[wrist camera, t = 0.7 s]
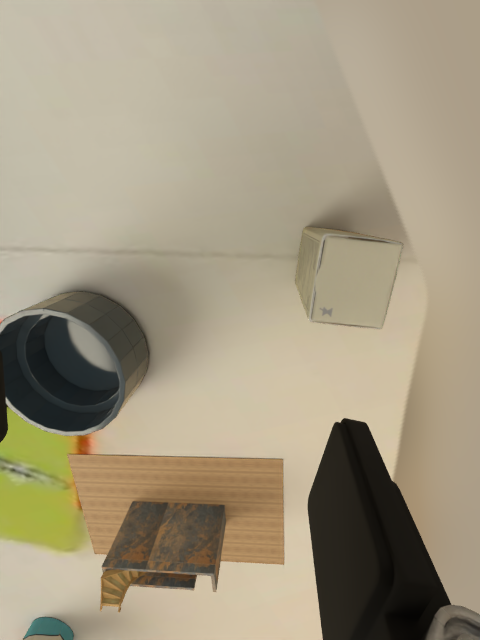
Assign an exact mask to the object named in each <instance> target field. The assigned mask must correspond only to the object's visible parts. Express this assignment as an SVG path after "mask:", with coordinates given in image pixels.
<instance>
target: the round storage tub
mask: <svg viewBox="0 0 480 640" xmlns="http://www.w3.org/2000/svg"><path fill="white" fill-rule="evenodd" d="M0 351H1V352H2V357H3V370H4V383H5V397H6V404H7V405H8V407H9V408H10V409H11V410H12V411H14V412H15V413H16V414H17V415H19V416H20V417H21V418H22V419H24V420H25V421H26V422H28V423H30V424H32V425H34V426H36V427H38V428H40V429H42V430H44V431H46V432H51V433H55V434H60V435H64V436H76V435H87V434H90V433H92V432H95V431H98V430H100V429H103V428H104V427H105V426H106V425H108V424H109V423H110V422H111V421H112V420H113V419H114V418H116V416H117V415H118V414H119V412H120V411H121V410H122V408H123V407H124V406H125V404H126V403H127V402H128V400H129V399H130V397H131V396H132V395H133V393H134V392H135V391H136V389H137V388H138V387H139V385H140V384H141V382H142V380H143V378H144V376H145V374H146V371H147V364H148V350H147V346H146V342H145V337H144V335H143V333H142V332H141V330H140V328H139V327H138V325H137V323H136V321H135V320H134V318H132V317H131V316H130V315H129V314H128V313H127V312H126V311H125V310H124V309H123V308H122V307H121V306H120V305H118V304H116V303H114V302H113V301H111V300H109V299H107V298H105V297H103V296H101V295H97V294H93V293H88V292H83V291H78V292H69V293H63V294H60V295H58V296H55V297H53V298H50V299H48V300H45V301H43V302H41V303H38V304H36V305H33V306H31V307H29V308H26V309H24V310H21V311H19V312H17V313H15V314H13V315H11V316H9V317H8V318H6V319H4V320H3V321H2V322H1V324H0Z"/></svg>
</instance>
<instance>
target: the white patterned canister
mask: <svg viewBox="0 0 480 640" xmlns="http://www.w3.org/2000/svg"><path fill="white" fill-rule="evenodd" d="M73 637H74V635H73V632H72V630H71V629H70V627H69V626H67V625H66V624H65V623H63V622H61V621H59V620H57V619H54V618H49V617H42V618H38V619H35V620H34V621H33V623H32V624H31V626H30V628H29V629H28V631H27V633H26V635H25V636H24V638H23V640H73Z"/></svg>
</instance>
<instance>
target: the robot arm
mask: <svg viewBox="0 0 480 640" xmlns="http://www.w3.org/2000/svg"><path fill="white" fill-rule="evenodd" d="M7 430H8V423H7V410H6V397H5V383H4V370H3V357H2V352H1V351H0V442H1V441H2V440H3V439H4V437H5V436H6V434H7ZM308 516H309V524H310V533H311V541H312V550H313V558H314V567H315V576H316V584H317V593H318V601H319V610H320V618H321V627H322V635H323V640H480V615H479V614H478V613H476V612H474V611H472V610H469V609H467V608H465V607H462V606H456V605H451V603H450V601H449V598H448V596H447V594H446V592H445V590H444V587H443V585H442V583H441V581H440V578H439V576H438V574H437V572H436V570H435V567H434V565H433V563H432V561H431V558H430V556H429V554H428V552H427V550H426V547H425V545H424V543H423V541H422V538H421V536H420V534H419V532H418V529H417V527H416V525H415V523H414V521H413V518H412V516H411V514H410V512H409V509H408V507H407V505H406V503H405V500H404V498H403V496H402V494H401V492H400V489H399V488H398V486H397V485H396V483H394V482H393V481H392V480H391V478H390V476H389V473H388V471H387V469H386V466H385V464H384V462H383V460H382V457H381V455H380V453H379V450H378V448H377V446H376V443H375V441H374V439H373V437H372V434H371V432H370V430H369V427H368V425H367V424H366V423H365V422H360V421H355V420H351V419H346V418H344V419H343V420H342V421H341V423H339V422H335V423H334V425H333V428H332V431H331V434H330V436H329V439H328V442H327V445H326V448H325V451H324V454H323V457H322V460H321V462H320V465H319V468H318V471H317V474H316V477H315V480H314V483H313V485H312V488H311V491H310V494H309V498H308Z"/></svg>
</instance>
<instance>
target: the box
mask: <svg viewBox="0 0 480 640" xmlns="http://www.w3.org/2000/svg"><path fill="white" fill-rule="evenodd" d="M402 249H403V243H401V242H398V241H393V240H389V239H384V238H378V237H374V236H368V235H363V234H359V233H354V232H348V231H341V230H333V229H325V228H315V227H305V228H304V229H303V234H302V239H301V244H300V251H299V258H298V265H297V272H296V281H295V284H296V286H297V289H298V292H299V295H300V298H301V300H302V303H303V306H304V308H305V311H306V314H307V317H308V319H309V321H310V322H316V323H324V324H331V325H340V326H349V327H360V328H373V329H381V328H382V327H383V324H384V321H385V317H386V314H387V310H388V306H389V303H390V299H391V295H392V291H393V287H394V283H395V279H396V275H397V270H398V266H399V262H400V257H401V253H402Z"/></svg>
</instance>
